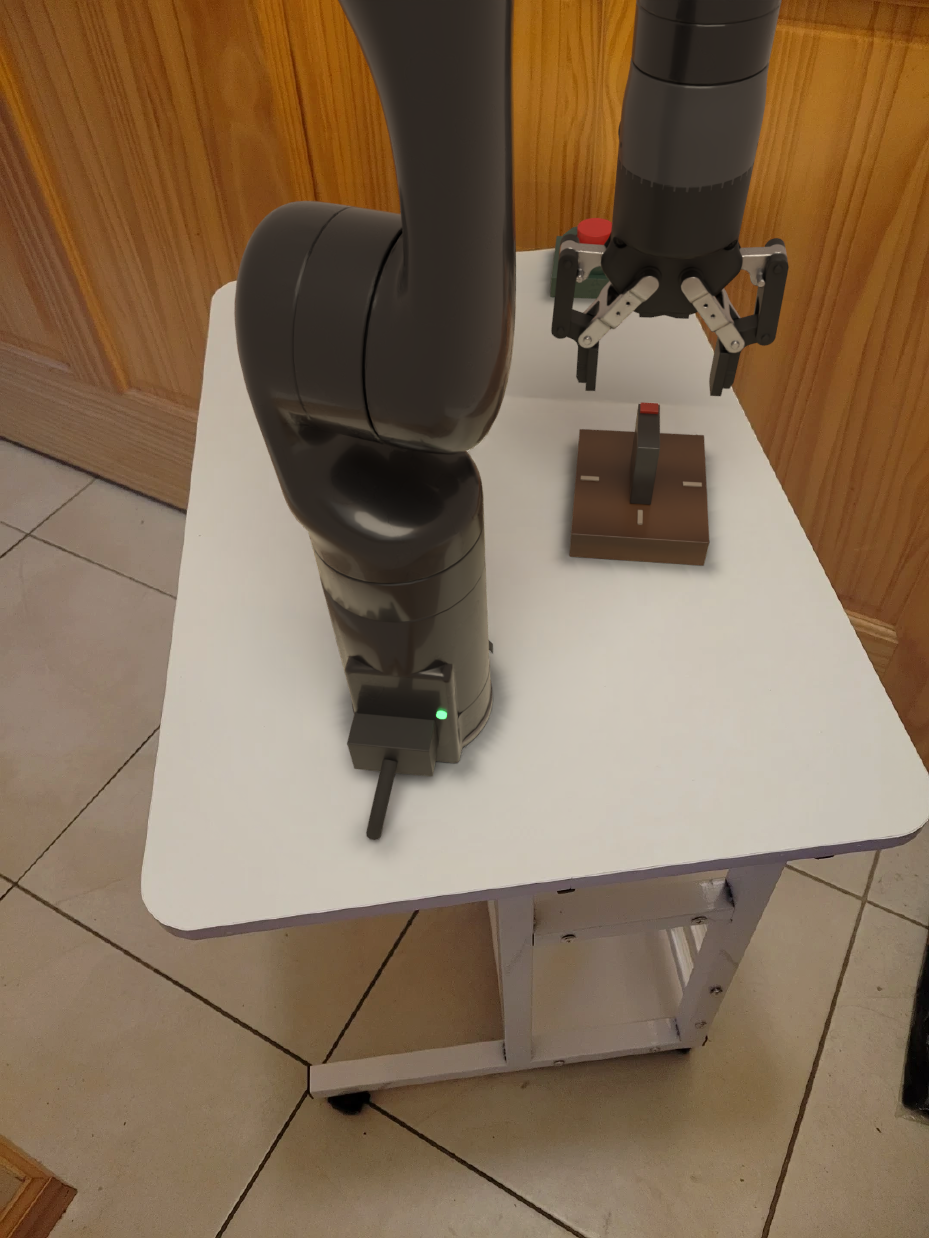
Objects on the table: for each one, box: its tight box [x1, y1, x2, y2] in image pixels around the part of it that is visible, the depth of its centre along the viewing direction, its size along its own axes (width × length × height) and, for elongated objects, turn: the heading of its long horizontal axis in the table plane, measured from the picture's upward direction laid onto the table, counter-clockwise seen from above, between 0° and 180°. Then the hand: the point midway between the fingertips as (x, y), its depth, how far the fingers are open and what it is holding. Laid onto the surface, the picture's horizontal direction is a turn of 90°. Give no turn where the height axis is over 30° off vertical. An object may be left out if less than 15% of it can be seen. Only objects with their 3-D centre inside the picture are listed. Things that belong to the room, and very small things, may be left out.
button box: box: [550, 225, 609, 300], centre depth 90 cm, size 8×8×4 cm
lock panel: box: [568, 428, 710, 566], centre depth 70 cm, size 12×10×3 cm
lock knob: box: [630, 401, 661, 504], centre depth 67 cm, size 5×2×6 cm, turn 172°
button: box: [577, 217, 612, 245], centre depth 88 cm, size 4×4×2 cm
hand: (652, 386), depth 62 cm, fingers open, 8 cm apart
